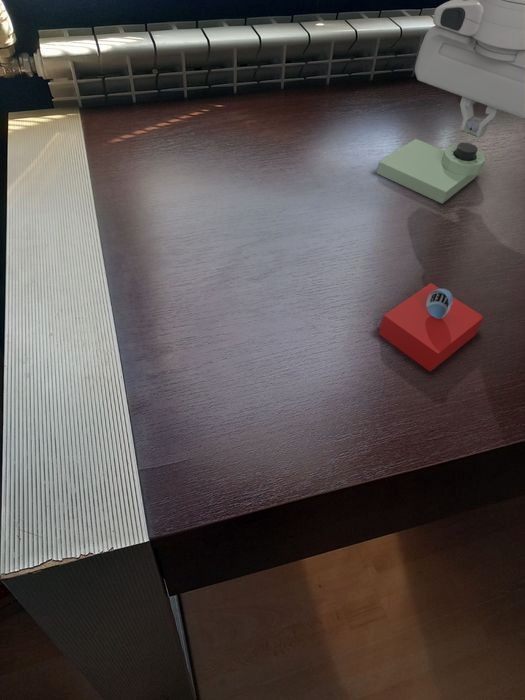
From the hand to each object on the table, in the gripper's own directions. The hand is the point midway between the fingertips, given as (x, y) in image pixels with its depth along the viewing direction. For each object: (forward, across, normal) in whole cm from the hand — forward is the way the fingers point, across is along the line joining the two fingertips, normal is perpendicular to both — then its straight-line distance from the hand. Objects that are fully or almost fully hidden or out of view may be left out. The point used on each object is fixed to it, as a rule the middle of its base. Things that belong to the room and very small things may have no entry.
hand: (471, 133), depth 75 cm
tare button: (+4, 0, 0) cm, 4 cm away
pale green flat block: (+7, +3, +3) cm, 8 cm away
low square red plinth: (+7, -14, +31) cm, 35 cm away
